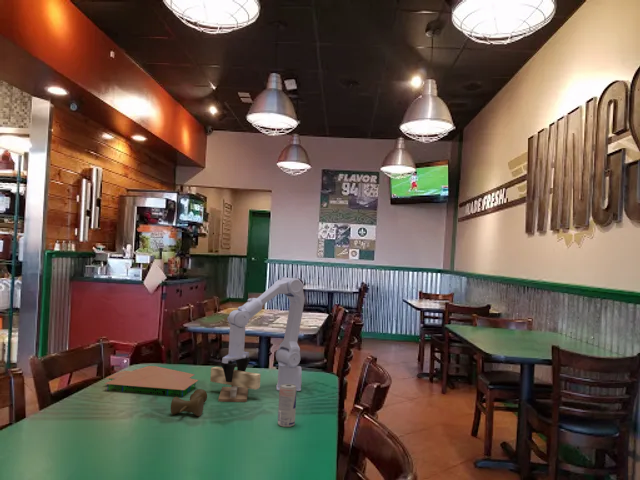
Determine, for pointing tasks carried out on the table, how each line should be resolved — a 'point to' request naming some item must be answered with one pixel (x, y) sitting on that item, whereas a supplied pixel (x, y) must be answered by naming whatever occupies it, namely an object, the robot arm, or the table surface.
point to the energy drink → (287, 405)
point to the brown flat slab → (153, 379)
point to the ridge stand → (233, 394)
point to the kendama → (190, 403)
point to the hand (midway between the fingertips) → (234, 379)
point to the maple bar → (236, 378)
